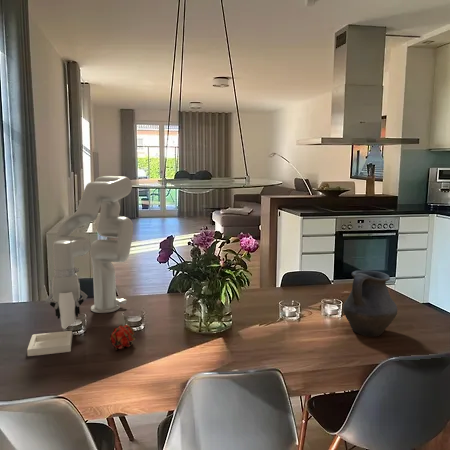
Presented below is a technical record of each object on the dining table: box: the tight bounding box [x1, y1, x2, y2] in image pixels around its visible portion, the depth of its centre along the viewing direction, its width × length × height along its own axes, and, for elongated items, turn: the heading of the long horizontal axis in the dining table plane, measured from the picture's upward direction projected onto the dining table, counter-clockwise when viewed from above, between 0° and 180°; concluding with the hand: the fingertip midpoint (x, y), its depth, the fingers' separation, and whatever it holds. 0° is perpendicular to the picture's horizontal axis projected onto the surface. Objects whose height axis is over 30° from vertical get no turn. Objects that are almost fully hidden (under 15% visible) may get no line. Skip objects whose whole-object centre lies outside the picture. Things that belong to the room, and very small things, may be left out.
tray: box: [27, 330, 73, 357], centre depth 165 cm, size 14×14×2 cm
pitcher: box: [342, 269, 399, 338], centre depth 177 cm, size 21×22×25 cm
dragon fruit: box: [109, 324, 137, 351], centre depth 164 cm, size 8×8×12 cm
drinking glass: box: [58, 292, 77, 330], centre depth 178 cm, size 7×7×15 cm
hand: (68, 316), depth 179 cm, fingers closed on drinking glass, 6 cm apart
